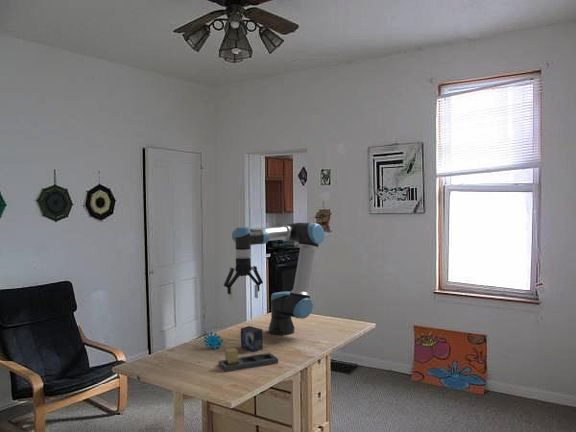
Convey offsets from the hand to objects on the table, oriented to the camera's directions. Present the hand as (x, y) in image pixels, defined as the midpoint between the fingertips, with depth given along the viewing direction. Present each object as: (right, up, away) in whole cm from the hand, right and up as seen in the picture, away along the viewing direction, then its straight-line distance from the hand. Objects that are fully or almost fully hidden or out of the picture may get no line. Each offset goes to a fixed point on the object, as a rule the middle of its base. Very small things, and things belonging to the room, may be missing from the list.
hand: (243, 299), depth 248 cm
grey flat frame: (+4, -27, -18) cm, 33 cm away
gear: (-16, -27, +8) cm, 32 cm away
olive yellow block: (-4, -28, -22) cm, 35 cm away
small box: (+4, -27, +6) cm, 28 cm away
